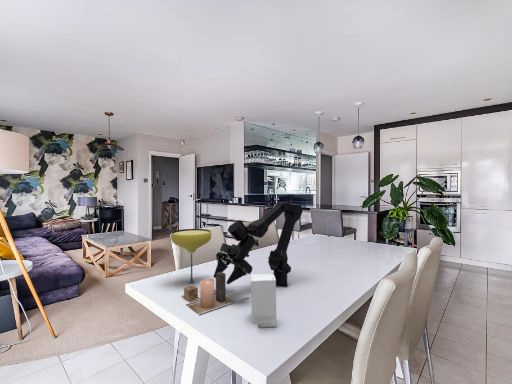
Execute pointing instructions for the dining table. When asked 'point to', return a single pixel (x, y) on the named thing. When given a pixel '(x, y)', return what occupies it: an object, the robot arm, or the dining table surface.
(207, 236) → the cocktail glass
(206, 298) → the terracotta cylinder
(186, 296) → the walnut cube
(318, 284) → the dining table surface
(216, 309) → the lane rails
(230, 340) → the dining table surface
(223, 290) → the tan wooden baseplate
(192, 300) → the broken strip
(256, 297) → the skincare box
